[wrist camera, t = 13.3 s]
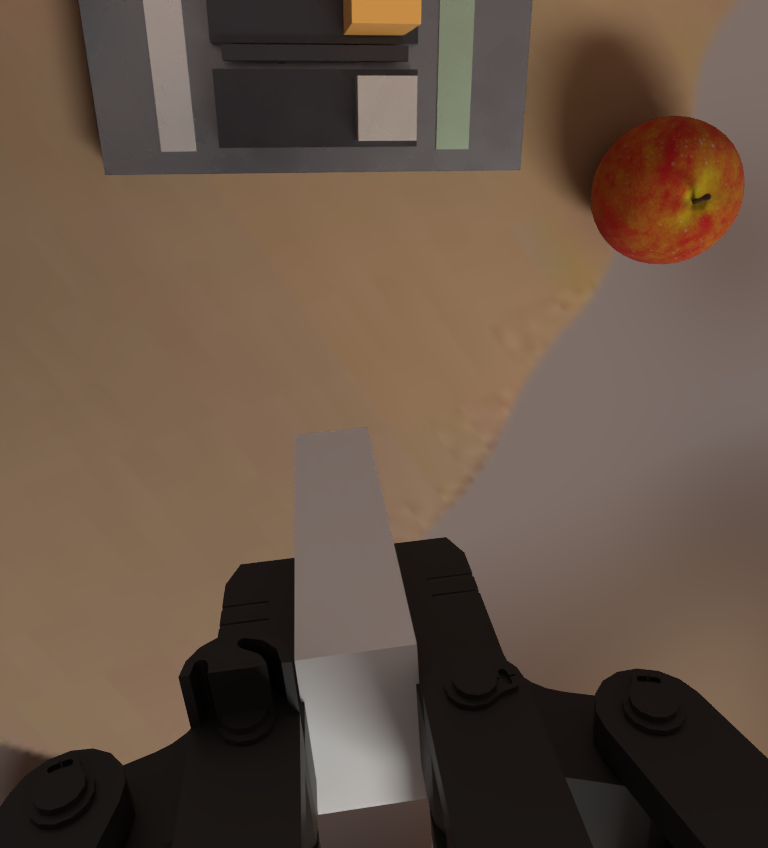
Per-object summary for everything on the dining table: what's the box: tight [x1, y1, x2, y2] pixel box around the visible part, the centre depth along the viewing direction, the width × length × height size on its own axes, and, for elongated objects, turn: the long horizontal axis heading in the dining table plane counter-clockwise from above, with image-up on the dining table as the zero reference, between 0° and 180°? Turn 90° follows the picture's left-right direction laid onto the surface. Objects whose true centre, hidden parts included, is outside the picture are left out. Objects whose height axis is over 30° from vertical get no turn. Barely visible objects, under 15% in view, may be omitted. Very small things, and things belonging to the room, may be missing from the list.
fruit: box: [591, 116, 744, 264], centre depth 35 cm, size 7×7×8 cm
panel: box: [78, 0, 532, 175], centre depth 31 cm, size 20×14×5 cm
